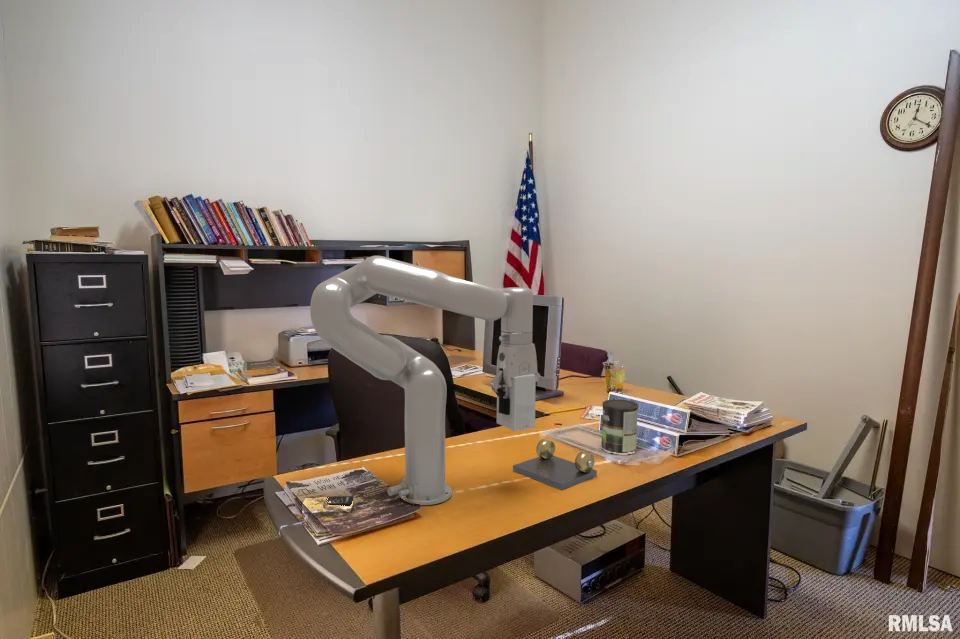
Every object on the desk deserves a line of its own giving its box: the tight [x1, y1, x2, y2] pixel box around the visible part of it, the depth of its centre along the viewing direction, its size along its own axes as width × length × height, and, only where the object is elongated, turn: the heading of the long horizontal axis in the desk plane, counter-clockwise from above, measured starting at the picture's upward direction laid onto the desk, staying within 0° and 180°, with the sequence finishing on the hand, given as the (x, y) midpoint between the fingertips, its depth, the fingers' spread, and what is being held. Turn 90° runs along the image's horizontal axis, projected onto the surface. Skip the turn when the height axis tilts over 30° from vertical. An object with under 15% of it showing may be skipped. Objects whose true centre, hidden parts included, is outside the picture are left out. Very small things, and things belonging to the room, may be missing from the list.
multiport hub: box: [326, 495, 354, 506], centre depth 128 cm, size 4×11×2 cm, turn 94°
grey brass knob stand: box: [512, 438, 598, 491], centre depth 150 cm, size 14×18×6 cm
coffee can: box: [601, 398, 639, 453], centre depth 169 cm, size 10×10×14 cm
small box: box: [496, 374, 537, 432], centre depth 138 cm, size 8×6×13 cm
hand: (515, 410), depth 139 cm, fingers closed on small box, 7 cm apart
